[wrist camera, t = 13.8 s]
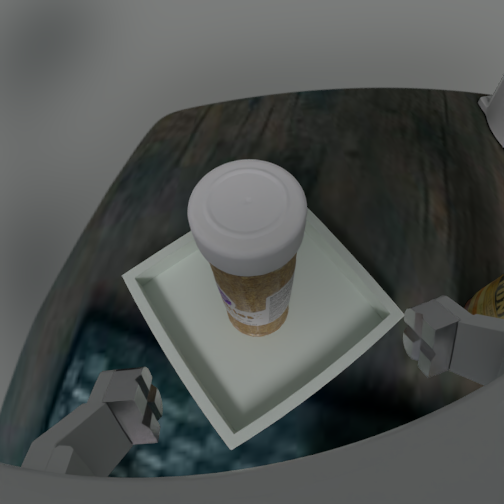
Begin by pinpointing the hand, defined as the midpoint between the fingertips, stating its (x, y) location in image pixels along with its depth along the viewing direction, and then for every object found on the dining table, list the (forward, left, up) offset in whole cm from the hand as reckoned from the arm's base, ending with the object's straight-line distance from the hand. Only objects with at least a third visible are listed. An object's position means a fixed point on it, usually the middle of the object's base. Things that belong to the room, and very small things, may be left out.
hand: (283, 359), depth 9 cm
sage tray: (-3, -6, -14) cm, 15 cm away
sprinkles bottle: (-2, -5, -14) cm, 15 cm away
